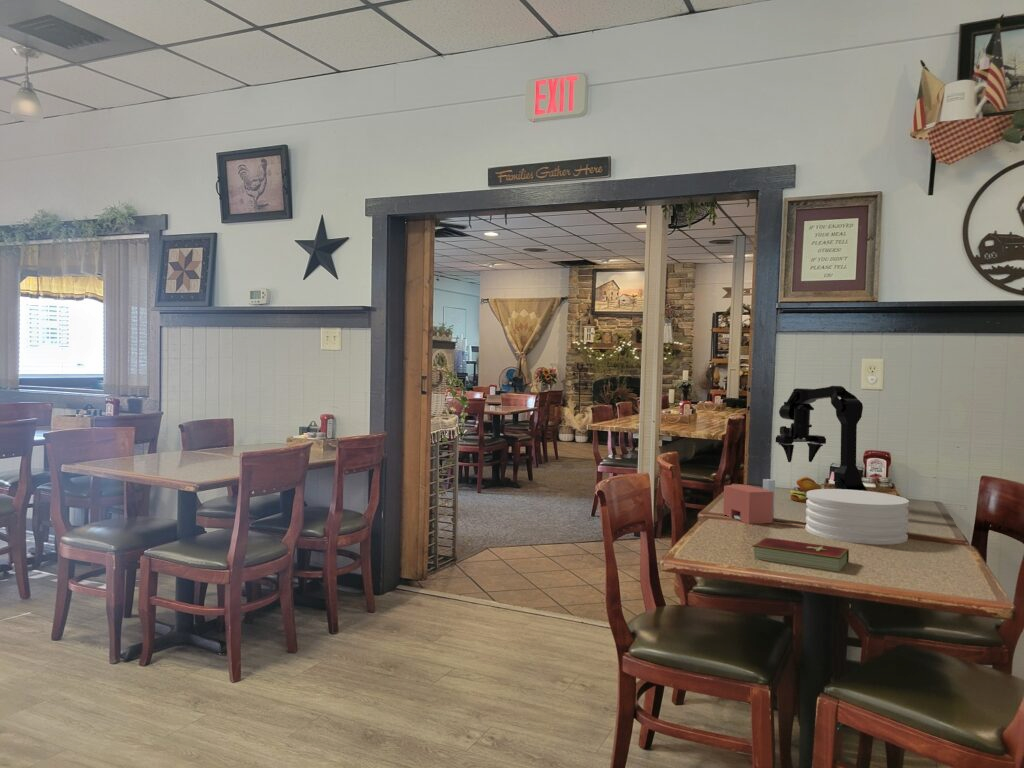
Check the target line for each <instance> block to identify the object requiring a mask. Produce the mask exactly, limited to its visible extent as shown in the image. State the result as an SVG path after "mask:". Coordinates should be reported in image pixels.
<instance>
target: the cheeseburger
mask: <svg viewBox="0 0 1024 768" xmlns="http://www.w3.org/2000/svg"><path fill="white" fill-rule="evenodd" d="M796 485H797V487H796V486H794V487H793V488H792V489H791V490H790V491H789V492H790V494H789V497H790V499H791V500H794V501H796V502H800V503H806V500H808V498H807V497H806V495H807V492H808V491H810V490H817V489H822V487H821V485H820V484H819V483H817V482H815V480H814V479H812V478H810V477H808V476H804V477H801V478H799V479H797V481H796Z"/></svg>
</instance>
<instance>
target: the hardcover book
mask: <svg viewBox="0 0 1024 768" xmlns="http://www.w3.org/2000/svg"><path fill="white" fill-rule="evenodd" d="M752 547H753V548H754V549H753V554H754V555H753V559H754V558H755V559H756V560H760V561H768V562H773V561H774V562H775V563H781V564H785V565H787V564H788V565H794V566H800V567H806V568H813V569H818V570H819V569H820V570H824V571H825V570H827V571H832V572H840V571H841V570H842V568H843V567H845V565H846V564H848V563H849V561H850V560H849V557H850V550H849V549H850V548H846V547H840V546H839V547H838V546H831V545H824V544H817V543H816V544H815V543H809V542H801V541H794V540H786V539H780V538H772V537H765V536H763V538H761V539H760V540H758V541H757V542H754V544H752ZM755 559H754V560H755Z"/></svg>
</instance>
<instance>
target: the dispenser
mask: <svg viewBox="0 0 1024 768" xmlns="http://www.w3.org/2000/svg"><path fill="white" fill-rule="evenodd" d="M773 496H774V492H773V491H769V490H765V489H763V488H761V487H757V486H752V485H750V484H736V485H735V484H733V485H723V510H722V511H723V514H724V515H727V516H729V517H728V518H730V517H734V515H740V522H743V523H745V524H748V525H753V524H754V525H755V524H773V522H774V518H773ZM723 514H722V515H723ZM724 515H723V516H724ZM727 516H726V517H727Z"/></svg>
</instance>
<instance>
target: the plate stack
mask: <svg viewBox="0 0 1024 768" xmlns="http://www.w3.org/2000/svg"><path fill="white" fill-rule="evenodd" d="M806 497H807V498H808V500H806V502H805V503H806V504H805V505H806V506H807V507H806V508H805V514H806V515H805V522H806V524H805V531H806V532H808V533H810V534H811V535H814V536H817V537H820V538H824V539H828V540H832V541H838V542H847V543H853V544H856V543H857V544H866V545H897V544H902V543H903V544H904V543H906V542H907V541H908V539H909V535H908V534H907V533H909V527H908V523H909V517H908V515H909V508H908V507H909V505H910V501H909V499H907V498H905V497H902V496H899V495H895V494H890V493H885V492H878V491H869V490H867V491H861V490H848V489H836V488H821V489H817V490H810V491H808V492H807V495H806Z"/></svg>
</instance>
